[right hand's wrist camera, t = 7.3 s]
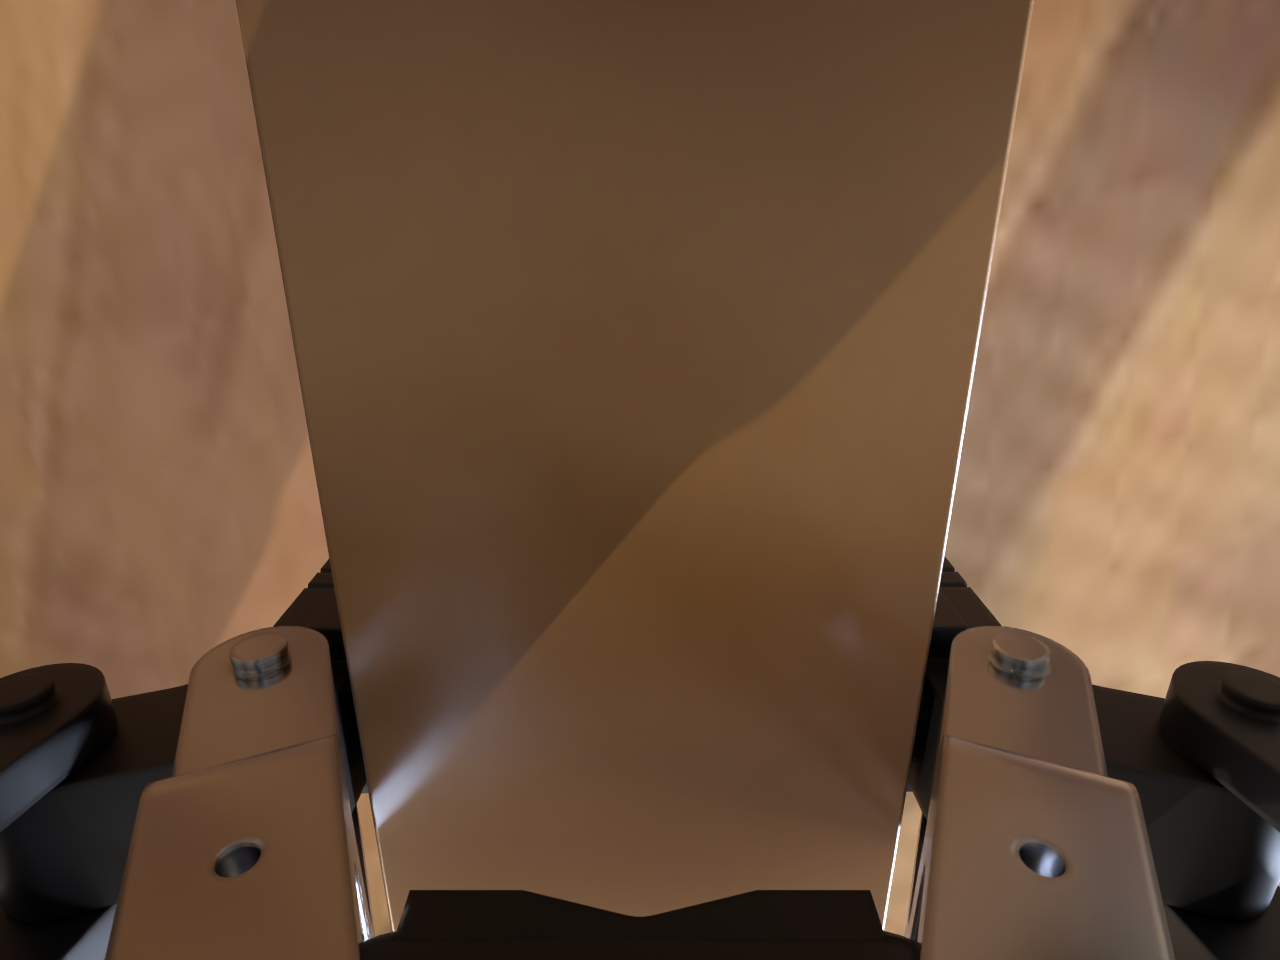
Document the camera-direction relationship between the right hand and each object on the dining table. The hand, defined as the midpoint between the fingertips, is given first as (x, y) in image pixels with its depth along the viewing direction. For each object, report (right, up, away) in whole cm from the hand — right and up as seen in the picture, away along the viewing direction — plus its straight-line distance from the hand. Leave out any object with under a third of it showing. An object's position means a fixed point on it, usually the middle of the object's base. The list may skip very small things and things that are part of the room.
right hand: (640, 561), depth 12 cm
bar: (0, +9, +1) cm, 9 cm away
